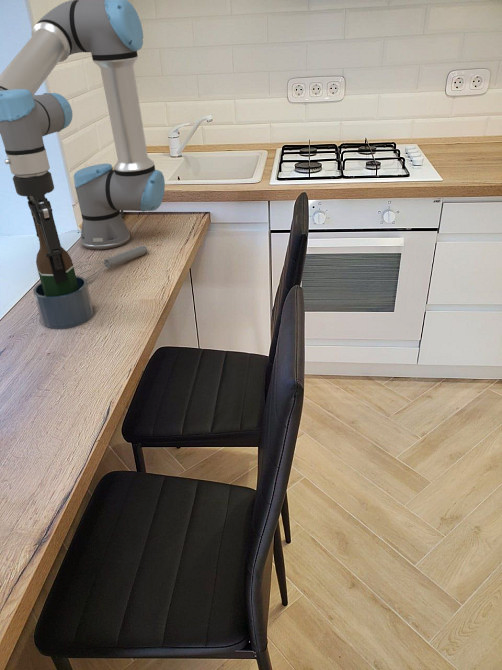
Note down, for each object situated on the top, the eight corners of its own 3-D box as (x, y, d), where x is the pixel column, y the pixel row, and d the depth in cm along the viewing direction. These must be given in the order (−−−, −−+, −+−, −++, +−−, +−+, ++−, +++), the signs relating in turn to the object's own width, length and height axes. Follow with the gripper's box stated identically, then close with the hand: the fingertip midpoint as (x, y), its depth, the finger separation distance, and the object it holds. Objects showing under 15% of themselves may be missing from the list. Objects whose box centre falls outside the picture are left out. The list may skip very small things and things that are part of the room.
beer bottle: (64, 321, 119) (38, 219, 107) (42, 313, 123) (13, 213, 111) (90, 307, 125) (67, 208, 112) (68, 300, 128) (43, 203, 116)
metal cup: (59, 303, 131) (51, 273, 127) (102, 306, 128) (95, 276, 124) (31, 326, 121) (22, 295, 117) (77, 330, 118) (69, 299, 114)
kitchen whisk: (157, 252, 157) (154, 232, 154) (67, 298, 133) (61, 276, 130) (142, 249, 160) (139, 229, 157) (51, 293, 136) (45, 271, 133)
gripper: (4, 166, 114) (32, 264, 125) (20, 186, 98) (50, 296, 110) (40, 161, 117) (63, 257, 128) (61, 180, 101) (85, 286, 113)
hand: (57, 275), depth 119 cm, fingers closed on beer bottle, 7 cm apart
